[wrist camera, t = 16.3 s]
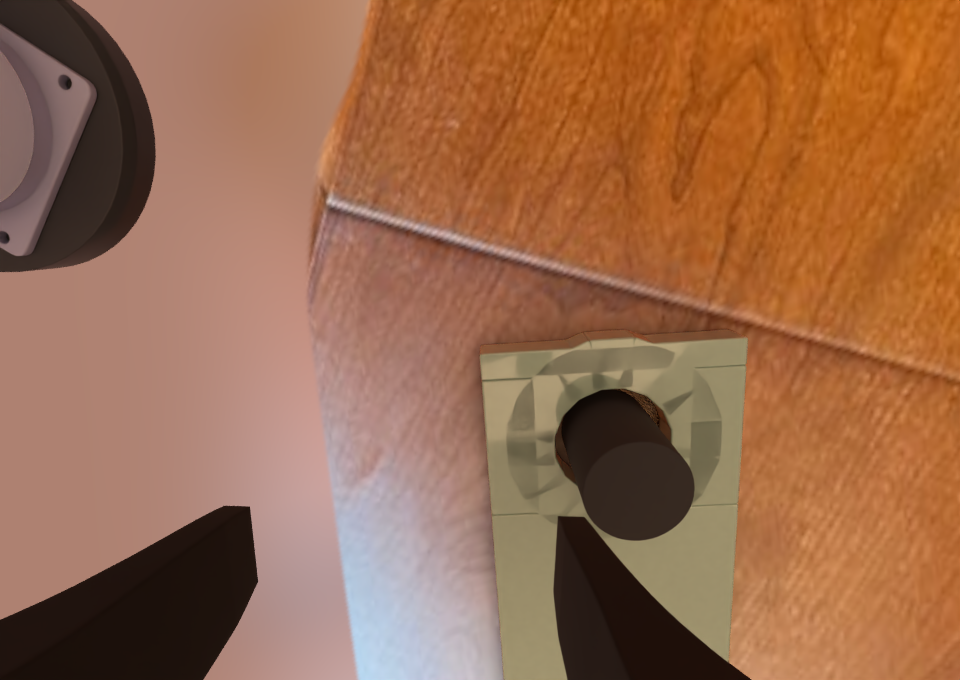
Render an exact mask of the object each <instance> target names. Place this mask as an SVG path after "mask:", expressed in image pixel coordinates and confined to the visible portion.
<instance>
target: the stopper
mask: <svg viewBox="0 0 960 680" xmlns="http://www.w3.org/2000/svg"><path fill="white" fill-rule="evenodd" d="M562 438H563V442H564V445H565V448H566V451H567V455H568V458H569V461H570V464H571V467H572V470H573V473H574V476H575V480H576V483H577V486H578V489H579V492H580V495H581V498H582V501H583V505H584V508H585V510H586V512H587V514H588V516H589V518H590V519H591V520H592V522H593V523H594V524H595V525H596V526H597V527H598V528H599V529H601V530H602V531H604V532H605V533H607V534H609V535H611V536H613V537H616V538H619V539H623V540H630V541H641V540H648V539H653V538H656V537H659V536H661V535H663V534H665V533H667V532H669V531H670V530H672V529H673V528H674V527H676V526H677V525H678V524H679V523H680V522H681V521H682V520H683V518H684V517H685V516H686V514H687V513H688V511H689V509H690V507H691V505H692V502H693V498H694V491H695V485H694V478H693V474H692V471H691V469H690V467H689V465H688V464H687V462H686V461H685V460H684V458H683V457H682V456H681V455H680V453H679V452H678V451H677V450H676V448H675V447H674V446H673V445H672V443H671V442H670V441H669V440H668V439H667V437H666V436H665V435H664V434H663V432H662V431H661V430H660V429H659V427H658V426H657V425H656V424H655V422H654V421H653V420H652V419H651V418H650V416H649V415H648V414H647V413H646V411H645V410H644V409H643V408H642V406H641V405H640V404H639V403H638V402H637V401H636V400H635V399H634V398H633V397H631V396H630V395H628V394H626V393H624V392H622V391H618V390H613V389H609V390H600V391H598V392H595V393H593V394H591V395H589V396H586V397H584V398H582V399H580V400H578V401H577V402H576V403H575V404H574V406H573V407H572V408H571V409H570V410H569V411H568V412H567V413H566V414H565V416H564V419H563V422H562Z"/></svg>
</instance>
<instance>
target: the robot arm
mask: <svg viewBox="0 0 960 680" xmlns="http://www.w3.org/2000/svg"><path fill="white" fill-rule="evenodd" d="M69 79H71V82H72V86H71V88H70V89H68V86H67V81H68V80H69ZM96 98H97V92H96V89H95V87H94V85H93V84H92V83H91V82H90V81H89V80H87V79H86V78H84V77H83V76H81V75H80V74H78V73H76V72H75V71H73V70H72V69H70V68H69V67H67V66H66V65H64V64H63V63H61V62H59V61H58V60H56V59H55V58H53V57H52V56H50V55H49V54H47V53H46V52H44V51H43V50H41V49H39V48H38V47H36V46H35V45H33V44H32V43H30V42H29V41H27V40H26V39H24V38H22V37H21V36H19V35H18V34H16V33H15V32H13V31H12V30H10V29H9V28H7V27H6V26H4V25H2V24H1V23H0V248H2V249H4V250H5V251H7V252H9V253H10V254H12V255H15V256H27V255H29V254H31V253H32V252H33V250H34V248H35V246H36V243H37V241H38V239H39V236H40V234H41V231H42V229H43V227H44V224H45V222H46V219H47V217H48V215H49V212H50V210H51V207H52V205H53V203H54V200H55V198H56V195H57V193H58V190H59V188H60V186H61V183H62V181H63V178H64V176H65V174H66V171H67V169H68V166H69V164H70V162H71V159H72V157H73V154H74V152H75V150H76V147H77V145H78V142H79V140H80V138H81V135H82V133H83V130H84V128H85V126H86V123H87V121H88V118H89V116H90V114H91V111H92V109H93V106H94V104H95V102H96ZM7 234H8V235H9V237H10V240H9V241H8V239H7V237H6V236H7ZM257 583H258V577H257V568H256V559H255V550H254V540H253V531H252V522H251V514H250V507H245V506H223V507H221V508H219V509H216V510H214V511H212V512H211V513H208V514H206V515H205V516H203V517H201V518H199V519H197V520H195V521H193V522H192V523H190V524H188V525H186V526H184V527H183V528H181V529H179V530H177V531H175V532H174V533H172V534H170V535H168V536H167V537H165V538H163V539H161V540H159V541H158V542H156V543H154V544H152V545H150V546H149V547H147V548H145V549H143V550H141V551H140V552H138V553H136V554H134V555H132V556H131V557H129V558H127V559H125V560H123V561H121V562H119V563H117V564H116V565H113V566H111V567H110V568H108V569H106V570H104V571H102V572H100V573H98V574H96V575H94V576H92V577H90V578H89V579H87V580H85V581H83V582H81V583H79V584H77V585H75V586H73V587H71V588H69V589H67V590H65V591H63V592H61V593H59V594H57V595H54V596H52V597H50V598H48V599H46V600H44V601H42V602H39V603H37V604H35V605H33V606H30V607H29V608H26V609H24V610H22V611H19V612H17V613H15V614H13V615H10V616H8V617H6V618H4V619H1V620H0V680H203V679H204V678H205V676H206V674H207V673H208V671H209V670H210V668H211V666H212V665H213V664H214V662H215V660H216V659H217V657H218V656H219V654H220V652H221V651H222V649H223V648H224V646H225V644H226V643H227V641H228V640H229V638H230V636H231V635H232V633H233V631H234V630H235V628H236V626H237V625H238V623H239V621H240V619H241V617H242V615H243V612H244V611H245V608H246V607H247V604H248V602H249V600H250V598H251V596H252V593H253V591H254V589H255V587H256V585H257ZM553 595H554V604H555V614H556V623H557V631H558V638H559V643H560V648H561V653H562V657H563V662H564V666H565V671H566V676H567V680H751V679H750V678H748V677H747V676H746V675H744V674H743V673H742V672H740V671H739V670H738V669H736V668H735V667H734V666H732V665H731V664H730V663H728V662H727V661H726V660H724V659H723V658H722V657H721V656H719V655H718V654H717V653H716V652H714V651H713V650H712V649H711V648H709V647H708V646H707V645H706V644H705V643H703V642H702V641H701V640H700V639H699V638H698V637H697V636H695V635H694V634H693V633H692V632H691V631H690V630H688V629H687V628H686V627H685V626H684V625H683V624H681V623H680V622H679V621H678V620H677V619H676V618H675V617H674V616H673V615H672V614H671V613H669V612H668V611H667V610H666V609H665V608H664V607H663V606H662V605H661V604H660V603H659V602H658V601H657V600H656V599H655V598H654V597H653V596H652V595H651V594H650V593H649V592H648V591H647V589H646V588H645V587H644V586H643V585H642V584H641V583H640V582H639V581H638V580H637V579H636V578H635V576H634V575H633V574H632V573H631V572H630V571H629V570H628V569H627V567H626V566H625V565H624V564H623V563H622V562H621V561H620V559H619V558H618V557H617V556H616V555H615V554H614V552H613V551H612V550H611V549H610V547H609V546H608V545H607V544H606V543H605V541H604V540H603V539H602V538H601V536H600V535H599V534H598V533H597V531H596V530H595V529H594V528H593V526H592V525H591V524H590V523H589V521H588V520H587V519H586V518H585V517H575V516H558V521H557V538H556V554H555V570H554V586H553Z"/></svg>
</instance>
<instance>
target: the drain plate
mask: <svg viewBox="0 0 960 680" xmlns="http://www.w3.org/2000/svg"><path fill="white" fill-rule="evenodd" d="M747 348H748V338H747V337H745V336H743V335H741V334H738V333H736V332H734V331H732V330H729V329H725V330H709V331H693V332H678V333H662V334H646V335H641V334H638V333H635V332H632V331H629V330H623V329H621V330H606V331H590V332H583V333H579V334H577V335H575V336H573V337H571V338H568V339H566V340H551V341H535V342H519V343H504V344H488V345H481V346H480V355H479V357H480V371H481V379H482V382H481V384H482V397H483V410H484V423H485V437H486V450H487V463H488V477H489V490H490V503H491V517H492V530H493V544H494V557H495V570H496V584H497V597H498V610H499V623H500V637H501V650H502V663H503V677H504V680H567V676H566V671H565V666H564V662H563V657H562V653H561V648H560V643H559V638H558V631H557V623H556V614H555V604H554V595H553V586H554V570H555V554H556V538H557V521H558V516H575V517H585V518H586V519H587V520H588V521H589V523H590V524H591V525H592V526H593V528H594V529H595V530H596V531H597V533H598V534H599V535H600V536H601V538H602V539H603V540H604V541H605V543H606V544H607V545H608V546H609V547H610V549H611V550H612V551H613V552H614V554H615V555H616V556H617V557H618V558H619V559H620V561H621V562H622V563H623V564H624V565H625V566H626V567H627V569H628V570H629V571H630V572H631V573H632V574H633V575H634V576H635V578H636V579H637V580H638V581H639V582H640V583H641V584H642V585H643V586H644V587H645V588H646V589H647V591H648V592H649V593H650V594H651V595H652V596H653V597H654V598H655V599H656V600H657V601H658V602H659V603H660V604H661V605H662V606H663V607H664V608H665V609H666V610H667V611H668V612H669V613H671V614H672V615H673V616H674V617H675V618H676V619H677V620H678V621H679V622H680V623H681V624H683V625H684V626H685V627H686V628H687V629H688V630H690V631H691V632H692V633H693V634H694V635H695V636H697V637H698V638H699V639H700V640H701V641H702V642H703V643H705V644H706V645H707V646H708V647H709V648H711V649H712V650H713V651H714V652H716V653H717V654H718V655H719V656H721V657H722V658H723V659H724V660H726V661H727V662H728V663H729V649H730V632H731V615H732V599H733V582H734V566H735V549H736V532H737V516H738V504H737V503H738V498H739V482H740V465H741V449H742V432H743V415H744V399H745V382H746V363H747ZM609 389H626V390H629V391H632V392H635V393H638V394H641V395H644V396H647V397H648V398H649V399H650V400H651V401H652V402H653V403H654V405H655V408H656V410H657V412H658V414H659V429H660V430H661V431H662V432H663V434H664V435H665V436H666V437H667V439H668V440H669V441H670V442H671V443H672V445H673V446H674V447H675V448H676V450H677V451H678V452H679V453H680V455H681V456H682V457H683V458H684V460H685V461H686V462H687V464H688V465H689V467H690V469H691V471H692V474H693V478H694V485H695V491H694V498H693V502H692V505H691V507H690V509H689V511H688V513H687V514H686V516H685V517H684V518H683V520H682V521H681V522H680V523H679V524H678V525H677V526H676V527H674V528H673V529H672V530H670V531H669V532H667V533H665V534H663V535H661V536H659V537H656V538H653V539H648V540H641V541H630V540H623V539H619V538H616V537H613V536H611V535H609V534H607V533H605V532H604V531H602V530H601V529H599V528H598V527H597V526H596V525H595V524H594V523H593V522H592V520H591V519H590V518H589V516H588V514H587V512H586V510H585V508H584V505H583V501H582V498H581V495H580V492H579V489H578V486H577V483H576V480H575V476H574V473H573V470H572V468H571V467H570V466H569V465H567V464H566V463H565V462H564V461H563V460H561V459H560V457H559V455H558V453H557V451H556V445H555V435H556V433H557V430H558V428H559V425H560V423H561V421H562V418H563V416H564V415H565V414H566V413H567V412H568V411H569V410H570V409H571V408H572V407H573V406H574V404H575V403H576V402H577V401H578V400H580V399H582V398H584V397H586V396H589V395H591V394H593V393H595V392H598V391H600V390H609Z"/></svg>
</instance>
